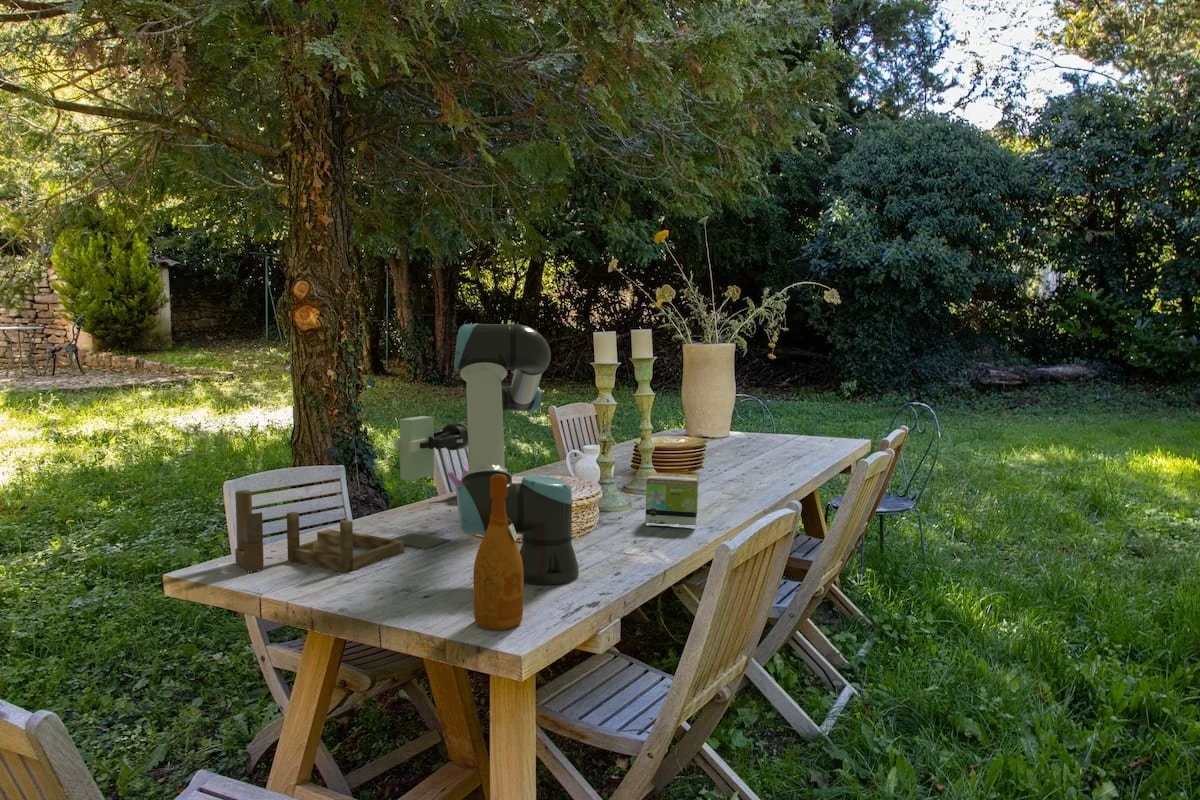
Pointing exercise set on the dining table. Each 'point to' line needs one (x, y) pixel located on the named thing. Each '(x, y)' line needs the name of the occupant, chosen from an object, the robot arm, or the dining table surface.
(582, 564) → the dining table surface
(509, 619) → the wine bottle
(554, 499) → the robot arm
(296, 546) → the rack
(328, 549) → the oak offcut
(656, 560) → the dining table surface
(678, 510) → the tea box
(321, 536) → the walnut offcut
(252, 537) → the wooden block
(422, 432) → the sage block
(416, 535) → the felt mat
